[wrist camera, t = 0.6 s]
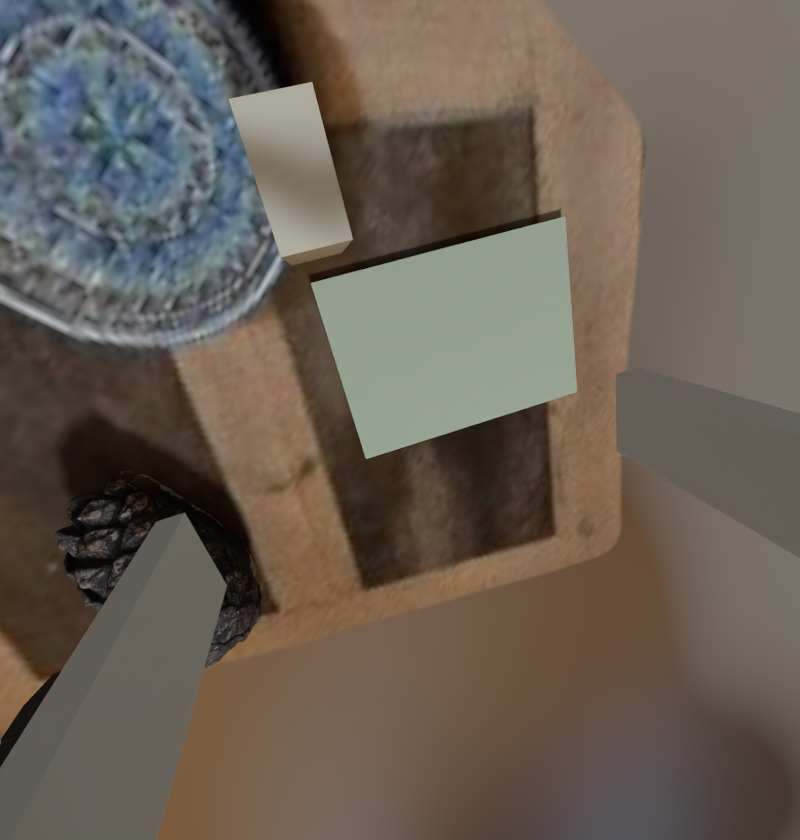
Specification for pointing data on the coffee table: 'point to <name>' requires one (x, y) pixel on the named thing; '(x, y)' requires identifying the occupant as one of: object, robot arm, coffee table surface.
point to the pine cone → (126, 531)
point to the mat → (452, 335)
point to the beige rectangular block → (294, 171)
